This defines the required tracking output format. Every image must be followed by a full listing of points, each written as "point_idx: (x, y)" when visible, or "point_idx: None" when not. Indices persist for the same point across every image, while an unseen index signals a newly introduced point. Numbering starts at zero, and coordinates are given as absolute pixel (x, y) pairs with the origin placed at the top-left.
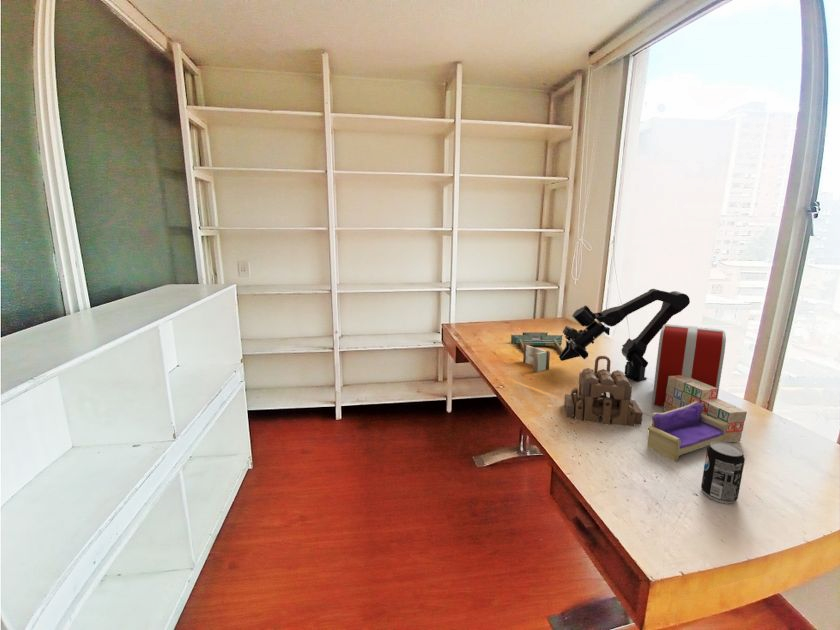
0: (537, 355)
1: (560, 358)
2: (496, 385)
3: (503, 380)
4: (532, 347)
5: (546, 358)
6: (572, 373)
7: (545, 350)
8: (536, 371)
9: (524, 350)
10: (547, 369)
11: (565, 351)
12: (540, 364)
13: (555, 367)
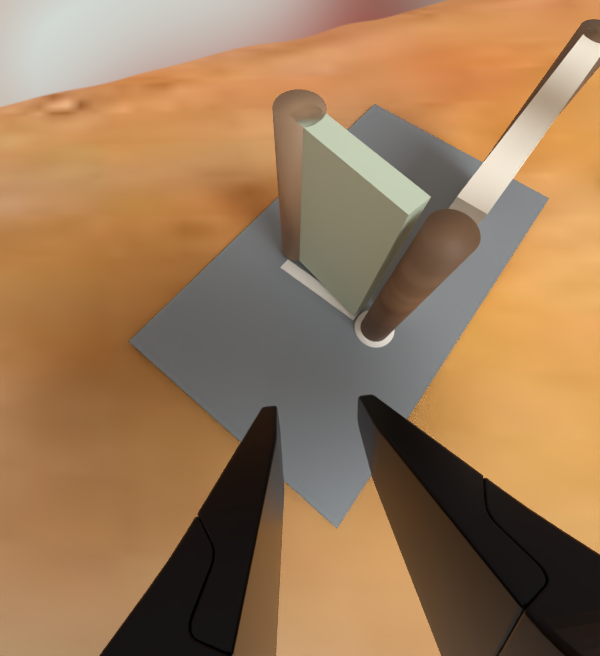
0: (278, 133)
1: (267, 410)
2: (79, 88)
3: (151, 110)
4: (550, 82)
5: (394, 270)
6: (379, 546)
7: (490, 204)
8: (284, 250)
9: (535, 89)
10: (363, 327)
11: (431, 529)
12: (320, 246)
13: (481, 398)
